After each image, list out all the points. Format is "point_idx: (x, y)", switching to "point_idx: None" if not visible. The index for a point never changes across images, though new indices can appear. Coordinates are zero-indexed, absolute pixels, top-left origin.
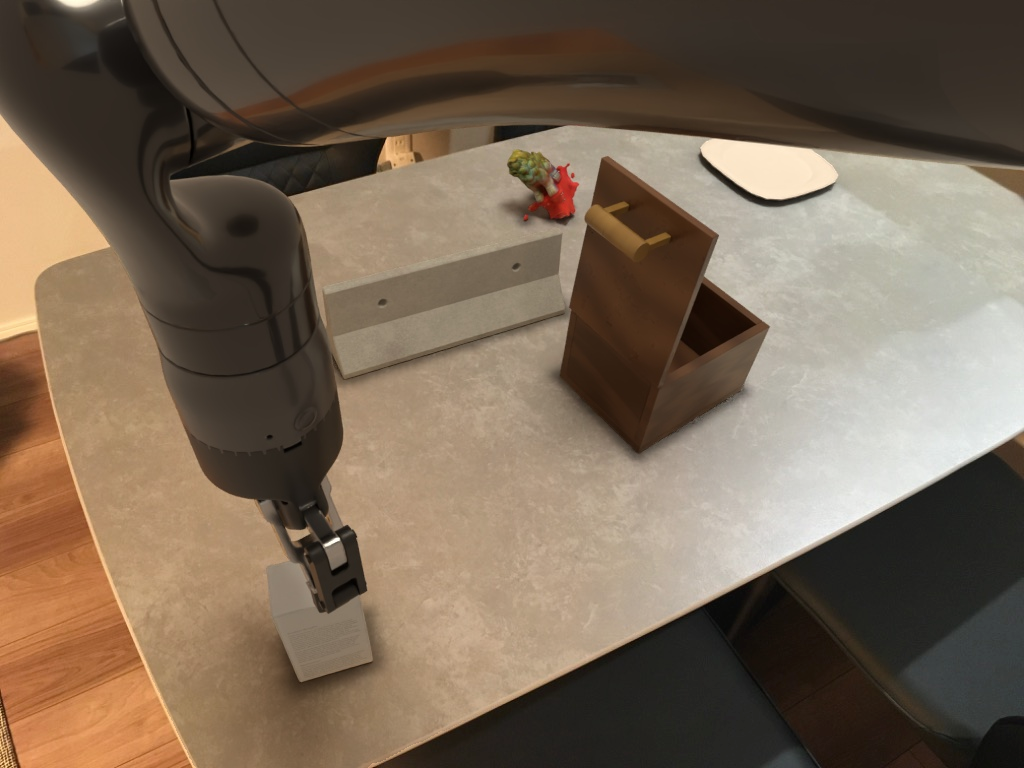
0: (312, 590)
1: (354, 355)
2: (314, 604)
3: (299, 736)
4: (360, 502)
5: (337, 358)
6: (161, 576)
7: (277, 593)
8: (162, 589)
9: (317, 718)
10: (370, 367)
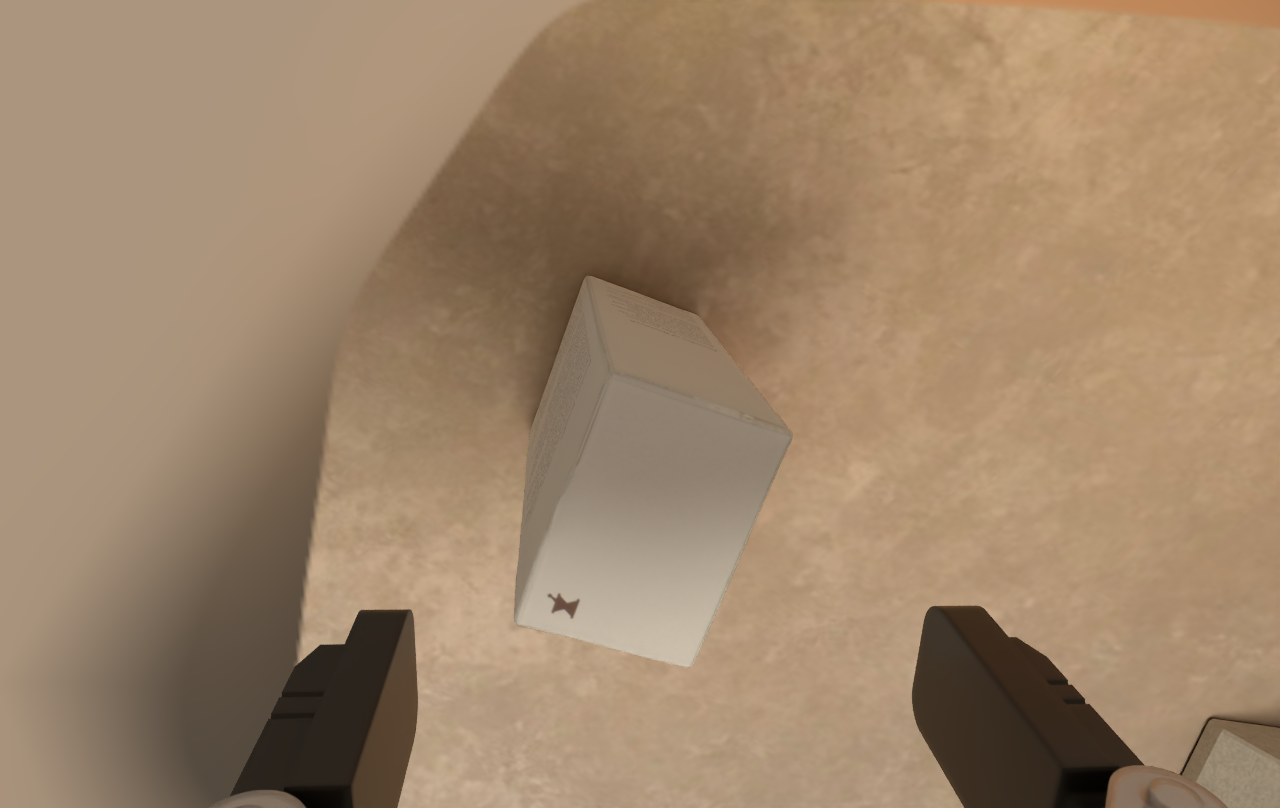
0: (235, 806)
1: (1252, 790)
2: (397, 616)
3: (473, 214)
4: (894, 593)
5: (1276, 749)
6: (1055, 112)
7: (678, 424)
8: (1021, 99)
9: (487, 267)
10: None
